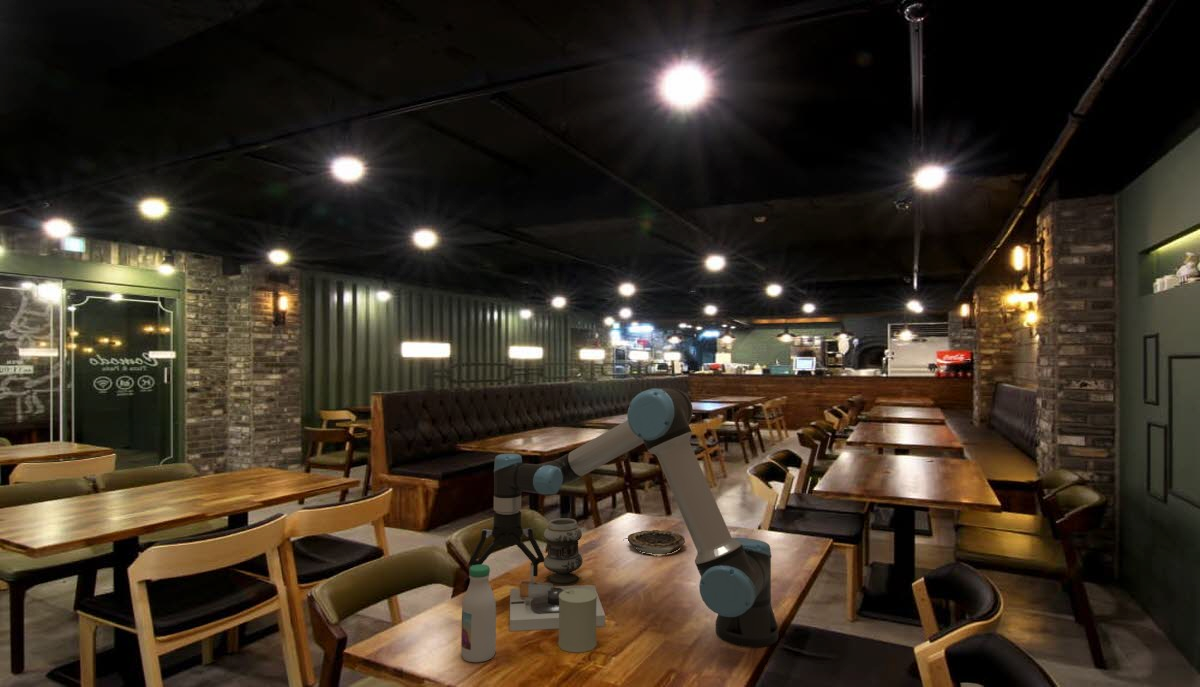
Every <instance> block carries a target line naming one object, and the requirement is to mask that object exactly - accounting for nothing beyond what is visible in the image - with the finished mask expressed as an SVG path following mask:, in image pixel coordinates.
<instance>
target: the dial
mask: <svg viewBox="0 0 1200 687" xmlns="http://www.w3.org/2000/svg"><path fill="white" fill-rule="evenodd" d="M553 586H554V585H553V584H551V583H549V582H537V581H533V582H530V581H526V580H522V581H520V583H519V588H520V597H526V598H533V599H532V601H531V609H532V610H533V611H534V612H536V613H538V614H549V613H559V594H560V593H561V592H562V591H563V590H562V589H561V588H553Z"/></svg>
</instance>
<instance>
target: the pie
mask: <svg viewBox="0 0 1200 687" xmlns="http://www.w3.org/2000/svg"><path fill="white" fill-rule="evenodd" d="M624 539H628V541H629V544H630V545H631V546H632V547H634V548H635V549H636V548H637V549H638V550H639V551H641V552H645V553H652V554H667V553H672V552H674V551H676V550H678V549H679V548H680V547H683V545H685V544H686V543H685V542H686V540H685V537H684V536H683V535H682V534H680V533H673V532H672V531H670V530H663V529H661V530H659V529H652V530H641V531H637V532H633V533H630V534H629V535H627V537H626V538H624ZM638 550H637V551H638ZM639 551H638V552H639ZM641 552H640V553H641Z"/></svg>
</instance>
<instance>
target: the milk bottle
mask: <svg viewBox="0 0 1200 687" xmlns="http://www.w3.org/2000/svg"><path fill="white" fill-rule="evenodd" d="M490 572H491V570H490V566H489V565H488V564H484V563H482V564H479V565H470V567H469V570H468V574H469V576H468V578H469V584H468V587H467V590H466V591H465V594H464V597H463V599H462V606H461V637H460V638H461V639H460V640H461V643H460V644H461V646H460V647H461V648H460V649H461V650H460V651H461V653H460V654H461V657H462V659H463V660H465V661H466V662H470V663H483V662H486V661H489V660H491V659H492V658H494V656H495V655H496V650H497V649H496V646H497V644H496V643H497V641H496V640H497V606H496V598H495V594H494V592H493V589H492V587H491V584H490V581H489V578H490Z"/></svg>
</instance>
